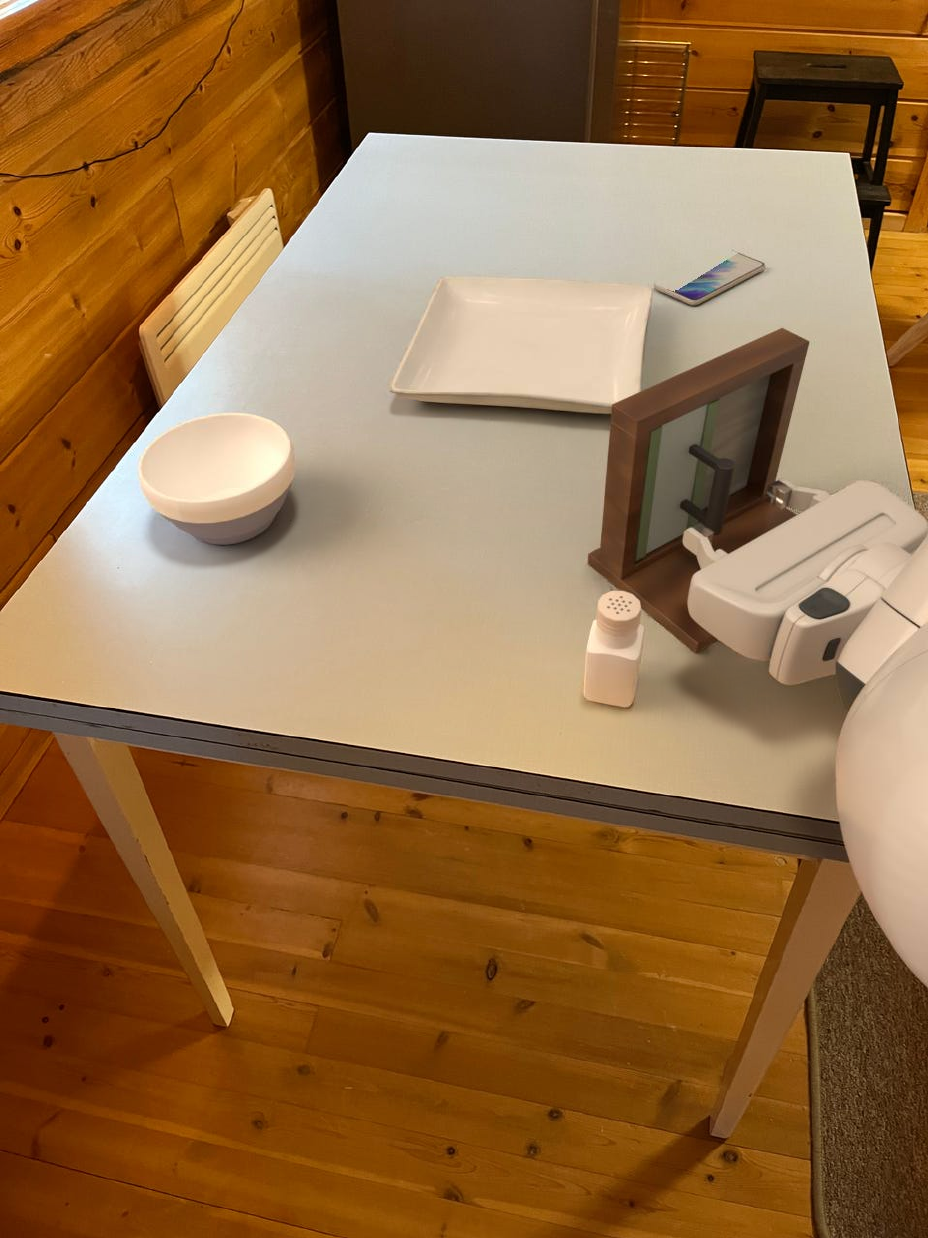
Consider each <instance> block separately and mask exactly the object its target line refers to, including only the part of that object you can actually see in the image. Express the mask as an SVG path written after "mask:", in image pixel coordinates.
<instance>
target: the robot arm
mask: <svg viewBox="0 0 928 1238" xmlns="http://www.w3.org/2000/svg"><path fill="white" fill-rule="evenodd" d="M765 498H766V500H767V502H769V503H770V504H774V506H775V507H776V508H778V509H779V510H782V509H783V508H790V509H793V510H795V511H796V510H797V511H800V513H798V514H796V516H795V517H793V518H791V519H789V520H788V521H786V522H784V523H782V524H781V525H779V526H777V527H775V528H774V529H772V530H770V531H768V532H767V533H765V534H763V535H761V536H760V537H758V538H756V539H754V540H752V541H751V542H749V543H747V544H745V545H744V546H742V547H740V548H738V549H737V550H735V551H733V552H731V553H730V554H727V553H726V552H725V551H723V550H722V549H718V550H716V552H714V550H713V548H712V546H711V545H712V542H711V541H712V539H713V535H714V532H713V531H712V530H710V529H709V528H706V527H704V525H703V524H702V523H698V524H696V525H695V526H693V527H691V528H689V529H687V530H685V531H684V535H683V545H684V546H685V547H686V548H687V549H688V550H690V551H691V552H692V553H694V554H695V555H696V556H697V560H698V562H699V565H700V568H701V570H700V571H698V572H696V573H695V574H694V575H693V577H692V579H691V583H690V588H689V593H688V600H687V604H688V610H689V614H690V616H691V617H692V618H693V620H694V621H695V622H697V623H698V624H699V625H700V626H701V627H702V628H704V629H705V630H706V631H707V632H709V633H710V634H711V635H713V636H714V637H715V638H717V639H718V640H717V641H719V642H721V643H722V644H723V645H725V646H727V647H728V648H730V649H731V650H733V651H734V652H736V653H737V654H739V655H741V656H743V657H745V658H747V659H749V660H754V661H759V662H765V661H766V662H767V661H769V667H768V672H769V674H770V675H771V676H772V678H774V679H775V680H776V681H777V682H779V683H780V684H782V685H786V686H795V685H798V684H802V683H805V682H809V681H812V680H816V679H820V678H824V677H829V676H833V675H835V679H836V685H837V690H838V694H839V699H840V702H841V706H842V709H844V710H845V711H847V714H846V716H845V719H844V721H843V724H842V727H841V730H840V733H839V737H838V741H837V745H836V746H837V747H836V753H835V797H836V809H837V815H838V821H839V828H840V831H841V836H842V842H843V844H844V849H845V852H846V855H847V857H848V861H849V864H850V866H851V869H852V872H853V875H854V878H855V880H856V883H857V884H858V887H859V889H860V891H861V893H862V895H863V897H864V900H865V902H866V904H867V905H868V908H869V910H870V912H871V913H872V915H873V916H872V917H874V919H875V921H876V923H877V924H878V926H879V927H880V929H881V930H882V932H883V934H884V935H885V937H886V938H887V940H888V942H889V943H890V946H892V948H893V950H894V951H895V952H896V954H897V955H898V956H899V958H900V959H901V960H902V962H903V963H904V964H905V965H906V967H907V968H908V969H909V971H910V972H912V974H913V975H914V976H915V977H916V978H917V979H918V980H919V981H920V982H921V983H922V984H923V985H924V986H925V987H926V988H927V989H928V521H927V519H926V518H925V516H924V515H922V514H921V513H920V512H919V511H918V510H917V509H916V508H914V507H913V506H912V505H911V504H909V503H907V501H905V500H903V499H902V498H901V497H900V496H898V495H897V494H895V493H894V492H892V491H891V490H889V489H888V488H886V487H885V486H883V485H882V484H880V483H878V482H877V481H870V480H865V479H864V480H862V479H859V480H856V481H853V482H852V483H851V484H849V485H848V486H845V487H844V488H842V489H840V490H838V491H837V492H835V493H833V494H832V495H831V494H830V493H828V492H827V491H825V490H824V489H819V488H813V487H806V486H800V485H798V486H797V485H795V484H794V483H792V482H790V481H789V480H787V479H786V478H783V477H781V478H779V479H778V480H777V479H776V481H775V482H773V483H772V484H770V485H768V487H767V492H766V495H765Z"/></svg>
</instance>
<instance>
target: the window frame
mask: <svg viewBox="0 0 928 1238" xmlns="http://www.w3.org/2000/svg"><path fill="white" fill-rule="evenodd" d="M809 347H810V340H808V339H806V338H804V337H802V336H800V335H798V334H796V333H795V332H792V331H790V330H788V329H786V328H784V327H781V328H779V329H776V330H774V331H772V332H770V333H767V334H766V335H762V336H760V337H759V338H756V339H754V340H752V341H749V342H747V343H745V344H743V345H740V346H738V347H736V348H734V349H732V350H730V351H727V352H725V353H722V354H721V355H719V356H716V357H714V358H712V359H709V360H708V361H706V362H703V363H701V364H699V365H696V366H694V367H692V368H690V369H687V370H685V371H682V372H680V373H679V374H677V375H674V376H672V377H669V378H667V379H665V380H663V381H661V382H658V383H656V384H654V385H652V386H650V387H648V388H645V389H643V390H641V392H639V393H636V394H634V395H632V396H630V397H628V398H625V399H623V400H621V401H619V402H616V403H614V404H612V409H611V414H610V423H609V424H610V426H609V436H608V446H607V447H608V450H607V461H606V474H605V485H604V486H605V487H604V496H603V497H604V500H603V508H602V509H603V510H602V522H601V534H600V545H599V547H597V548H596V549H595V550H592V551H591V552H589V553H588V554H587V564H588V565H589V566H590V567H592V569H594V570H595V571H596V572H597V573H599V574H600V575H601V576H602V577H603V578H605V579H606V580H607V581H608V582H610V583H611V584H612V585H613V586H614V587H615V588H617V589H618V591H625V592H628V593H631V594H633V595H634V596H635V597H636V598H637V599H638V600H639V601H640V604H641V610H643V611H644V612H645V613H647V614H648V615H649V616H650V617H651V618H652V619H654V620H656V622H657V623H658V624H659V625H661V626H662V627H664V629H666V630H667V631H669V632H670V633H671V634H672V635H673V636H675V637H676V638H677V639H678V640H679V641H681V642H682V643H683V644H685V646H686V647H687V648H689V649H690V650H691V651H692V652H693V653H695V654H697V653H700V651H702V650H705V648H707V647H708V646H710V645H712V644H714V643H715V642H717V641H719V640H718V639H717V638H715V637H714V636H713V635H711V634H710V633H709V632H707V631H706V630H705V629H704V628H702V627H701V626H700V625H699V624H698V623H697V622H695V621H694V620H693V618H692V617H691V616H690V614H689V610H688V604H687V600H688V593H689V588H690V583H691V579H692V577H693V575H694V574H695V573H696V572H698V571H700V570H701V568H700V565H699V562H698V560H697V556H696V555H695V554H694V553H692V552H691V551H690V550H688V549H687V548H686V547H685V546H684V545H683V535H684V534H682V535H680V536H678V537H676V538H675V539H673V540H671V541H669V542H667V543H665V544H663V545H662V546H660V547H658V548H656V549H654V550H652V551H650V552H649V553H647V554H646V556H645V557H643V558H641V559H639V560H638V561H635V556H636V547H637V539H638V531H639V522H640V514H641V505H642V497H643V488H644V480H645V472H646V463H647V455H648V446H649V438H650V431H652V430H654V429H656V428H658V427H660V426H662V425H664V424H667V423H669V422H671V421H673V420H675V419H677V418H679V417H681V416H683V415H685V414H688V413H690V412H692V411H694V410H696V409H698V408H700V407H702V406H704V405H707V404H709V403H711V402H713V401H715V400H717V399H719V400H720V401H719V406H718V412H717V417H716V423H715V429H714V434H713V440H712V446H711V451H710V453H711V454H712V455H714V456H715V457H717V458H718V459H722V458H727V459H731V460H732V461H734V463H735V469H734V474H733V479H732V484H731V489H730V494H729V498H728V503H727V508H726V513H725V518H724V523H723V528H722V532H721V533H720V534H719V535H715V536H713V539H712V541H711V542H712V545H711V546H712V548H713V550H714V552H716V550H718V549H722V550H723V551H725V552H726V553H727V554H730V553H731V552H733V551H735V550H737V549H738V548H740V547H742V546H744V545H745V544H747V543H749V542H751V541H752V540H754V539H756V538H758V537H760V536H761V535H763V534H765V533H767V532H768V531H770V530H772V529H774V528H775V527H777V526H779V525H781V524H782V523H784V522H786V521H788V520H789V519H791V518H793V517H795V516H796V515H797V514H796V513H795V512H793V511H792V510H790V509H789V508H788V507H785V508H783V509H782V510H779V509H778V508H776V507H775V506H774V504H770V503H769V502H767V500H766V498H765V495H766V492H767V487H768V485H770V484H772V483H773V482H775V481H777V477H778V472H779V468H780V464H781V460H782V456H783V453H784V448H785V443H786V439H787V436H788V431H789V427H790V423H791V419H792V416H793V411H794V408H795V403H796V398H797V395H798V390H799V387H800V381H801V378H802V375H803V370H804V366H805V363H806V358H807V354H808V351H809ZM714 471H715V470H714V469H712V468H711V467H709V466H708V468H707V474H706V480H705V485H704V491H703V497H702V502H701V508H700V509H702V510H703V511H705V512H706V513H707V509H708V504H709V499H710V493H711V488H712V482H713V477H714ZM698 523H701V522H699V521H698ZM703 525H704V524H703ZM704 526H705V525H704Z"/></svg>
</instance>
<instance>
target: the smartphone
mask: <svg viewBox="0 0 928 1238" xmlns="http://www.w3.org/2000/svg"><path fill="white" fill-rule="evenodd" d="M731 250H732V251H735V250H733V249H731ZM735 252H737V253H738V254H736V255H734V256H732V257H731V258H729V259H727V260H726V261H724V262H723V263H721V264H719V265H718V266H716V267H714V268H713V269H711V270H710V271H708V272H706V273H705V274H703V275H701V276H700V277H698V278H697V279H695V280H693V281H692V282H690V283H688V284H687V285H685V286H683V287H682V288H680V289H679V290H675V292H674V291H671V290H669V289H665V288H663V287H660V286H658V285H656V284H655V282H654V283H653V288H654V289H655V290H657V292H660V293H663V294H665V295H667V296H670V297H673V298H675V299H676V300H678V301H681V302H683V303H685V304H687V305H690V306H697V305H699V304H701V303H704V302H705V301H707V300H709V299H712V298H713V297H715V296H717V295H719V294H720V293H722V292H724V291H726V290H728V289H730V288H733V287H734V286H736V285H738V284H740V283H742V282H743V281H746V280H748V279H749V278H751V277H753V276H755V275H756V274H759V273H760V272H763V271H764V270H765V269H766V264H765V262H763V261H761V260H757V259H756V258H753V257H750V256H748V255H746V254H744V253H741V252H738V251H735Z"/></svg>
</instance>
